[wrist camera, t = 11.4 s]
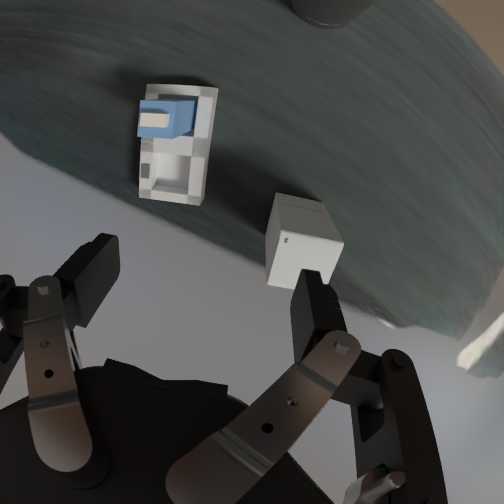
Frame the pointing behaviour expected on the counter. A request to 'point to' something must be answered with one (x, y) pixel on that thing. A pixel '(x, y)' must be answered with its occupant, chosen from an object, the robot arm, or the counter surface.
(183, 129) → the plug
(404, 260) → the counter surface
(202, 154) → the jack panel
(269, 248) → the supplement box
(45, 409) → the robot arm
